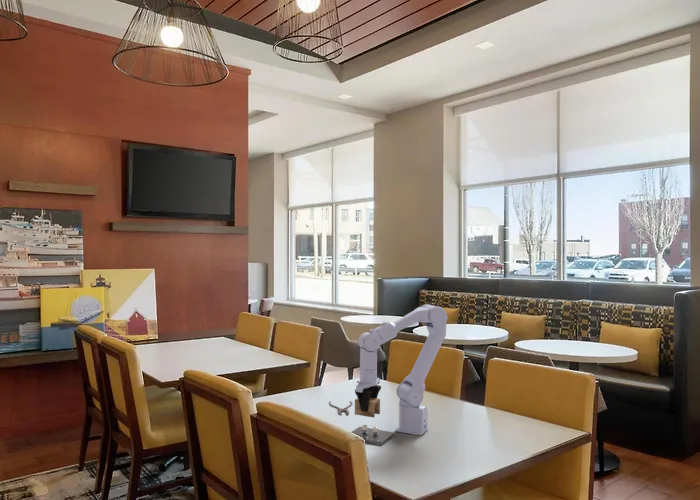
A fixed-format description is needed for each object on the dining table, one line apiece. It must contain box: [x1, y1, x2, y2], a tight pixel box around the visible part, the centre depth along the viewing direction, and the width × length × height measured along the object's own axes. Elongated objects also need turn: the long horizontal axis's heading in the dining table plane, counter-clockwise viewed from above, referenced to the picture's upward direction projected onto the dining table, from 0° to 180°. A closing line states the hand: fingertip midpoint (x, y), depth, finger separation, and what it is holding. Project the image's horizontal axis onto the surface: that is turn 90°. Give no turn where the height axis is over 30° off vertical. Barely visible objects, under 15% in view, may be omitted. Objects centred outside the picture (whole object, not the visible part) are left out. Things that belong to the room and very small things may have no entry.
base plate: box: [351, 424, 396, 446], centre depth 177 cm, size 13×11×4 cm
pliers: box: [328, 400, 353, 416], centre depth 212 cm, size 10×1×20 cm
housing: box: [354, 397, 381, 418], centre depth 181 cm, size 7×5×5 cm
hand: (368, 409), depth 180 cm, fingers closed on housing, 5 cm apart
